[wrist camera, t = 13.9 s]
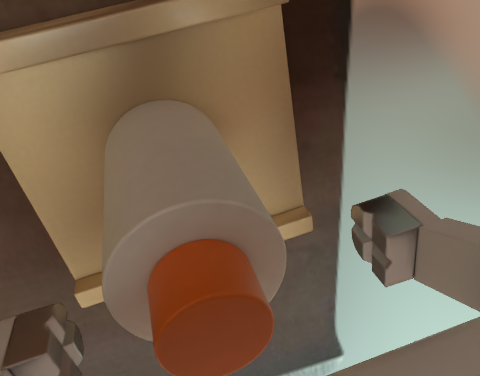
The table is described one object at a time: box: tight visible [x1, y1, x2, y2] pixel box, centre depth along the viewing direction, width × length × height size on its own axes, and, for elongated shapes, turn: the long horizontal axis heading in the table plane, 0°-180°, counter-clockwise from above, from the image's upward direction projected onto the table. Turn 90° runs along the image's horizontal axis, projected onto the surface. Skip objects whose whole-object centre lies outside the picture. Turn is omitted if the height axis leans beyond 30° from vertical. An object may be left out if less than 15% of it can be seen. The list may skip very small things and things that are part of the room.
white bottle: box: [102, 100, 287, 376], centre depth 13 cm, size 5×5×10 cm
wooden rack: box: [0, 0, 313, 308], centre depth 17 cm, size 12×12×2 cm
